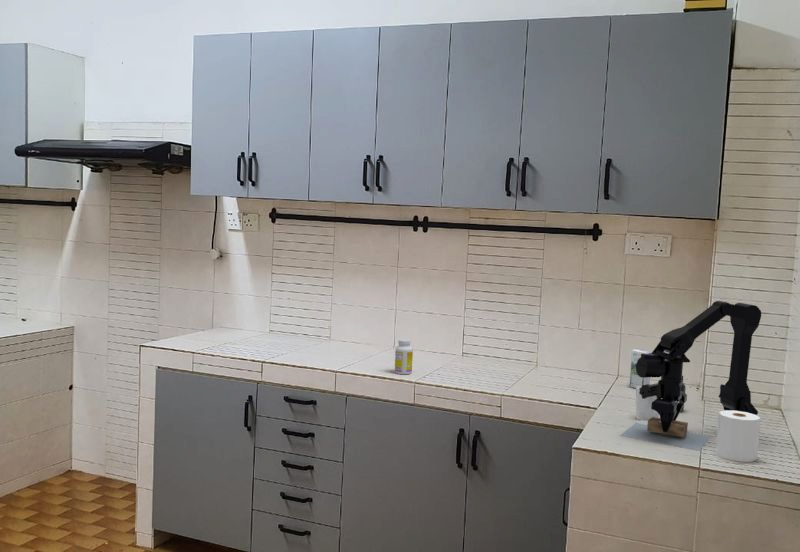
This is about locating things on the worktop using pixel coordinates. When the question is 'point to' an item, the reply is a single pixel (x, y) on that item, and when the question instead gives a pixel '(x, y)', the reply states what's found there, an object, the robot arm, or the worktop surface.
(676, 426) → the brown wooden block
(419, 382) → the worktop surface
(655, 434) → the grey board
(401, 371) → the supplement bottle
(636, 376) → the syrup box
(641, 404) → the white cup
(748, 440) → the toilet paper
